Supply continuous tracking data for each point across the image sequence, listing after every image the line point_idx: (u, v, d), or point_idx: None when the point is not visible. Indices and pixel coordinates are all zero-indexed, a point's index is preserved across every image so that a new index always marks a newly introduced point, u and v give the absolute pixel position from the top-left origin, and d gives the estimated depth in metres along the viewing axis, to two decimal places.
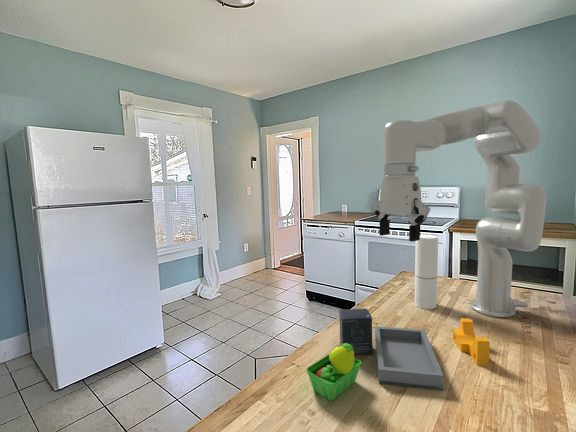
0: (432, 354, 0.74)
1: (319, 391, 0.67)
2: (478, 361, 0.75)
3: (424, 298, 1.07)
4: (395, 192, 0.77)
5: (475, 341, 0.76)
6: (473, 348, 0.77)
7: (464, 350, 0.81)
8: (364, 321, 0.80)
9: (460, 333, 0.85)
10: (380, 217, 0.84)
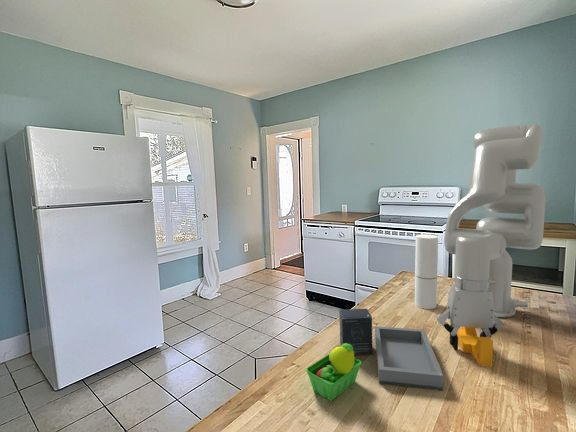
0: (432, 354, 0.74)
1: (319, 391, 0.67)
2: (481, 361, 0.75)
3: (424, 298, 1.07)
4: (478, 306, 0.77)
5: (478, 341, 0.76)
6: (476, 348, 0.77)
7: (467, 350, 0.81)
8: (364, 321, 0.80)
9: (462, 333, 0.85)
10: (455, 332, 0.80)
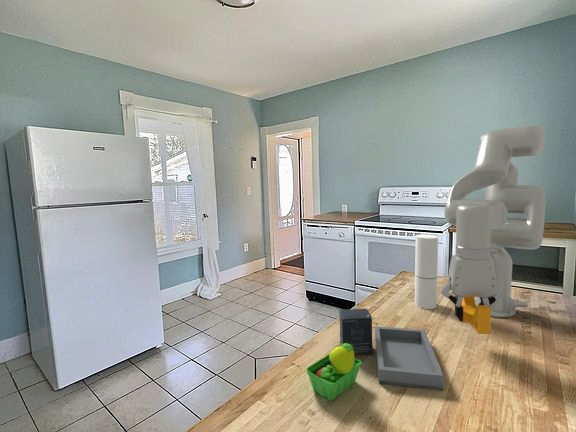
0: (432, 354, 0.74)
1: (319, 391, 0.67)
2: (479, 329, 0.75)
3: (424, 298, 1.07)
4: (479, 275, 0.76)
5: (476, 309, 0.76)
6: (474, 317, 0.77)
7: (465, 320, 0.81)
8: (364, 321, 0.80)
9: None
10: (460, 303, 0.80)
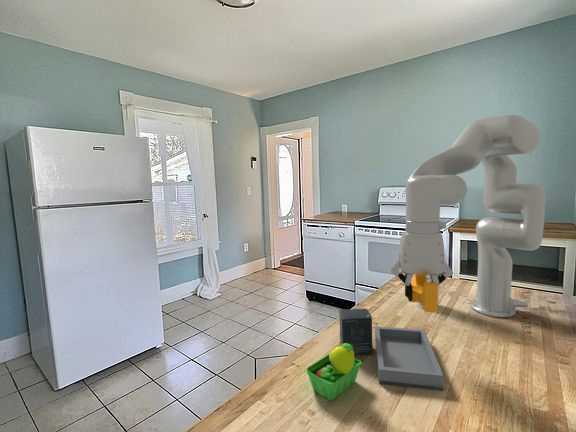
0: (432, 354, 0.74)
1: (319, 391, 0.67)
2: (426, 307, 0.71)
3: None
4: (428, 251, 0.73)
5: (424, 286, 0.72)
6: (422, 295, 0.73)
7: (415, 300, 0.77)
8: (364, 321, 0.80)
9: (413, 283, 0.80)
10: (409, 282, 0.76)
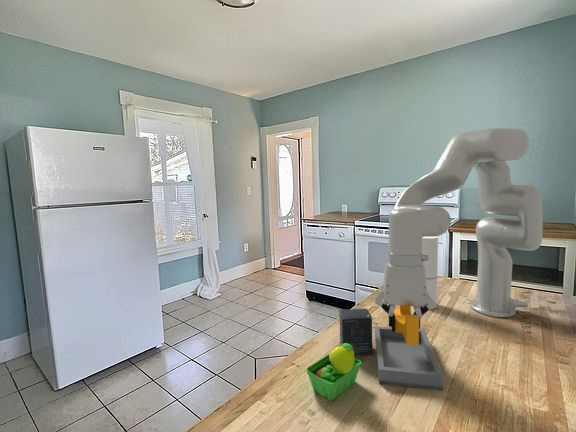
0: (432, 354, 0.74)
1: (319, 391, 0.67)
2: (408, 340, 0.71)
3: None
4: (410, 283, 0.73)
5: (406, 319, 0.72)
6: (405, 327, 0.73)
7: (398, 330, 0.77)
8: (364, 321, 0.80)
9: (397, 312, 0.81)
10: (392, 312, 0.76)
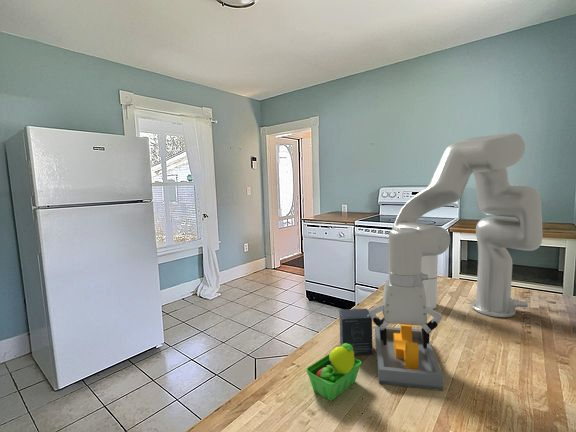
0: (432, 354, 0.74)
1: (319, 391, 0.67)
2: (407, 367, 0.72)
3: None
4: (410, 302, 0.74)
5: (405, 346, 0.73)
6: (405, 354, 0.74)
7: (399, 355, 0.78)
8: (364, 321, 0.80)
9: (398, 337, 0.82)
10: (383, 326, 0.77)
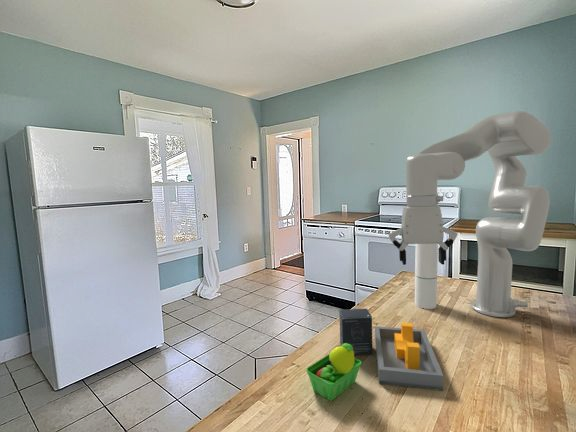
0: (432, 354, 0.74)
1: (319, 391, 0.67)
2: (408, 367, 0.72)
3: (424, 298, 1.07)
4: (427, 222, 0.80)
5: (406, 347, 0.73)
6: (406, 354, 0.74)
7: (400, 356, 0.78)
8: (364, 321, 0.80)
9: (399, 337, 0.82)
10: (403, 247, 0.84)
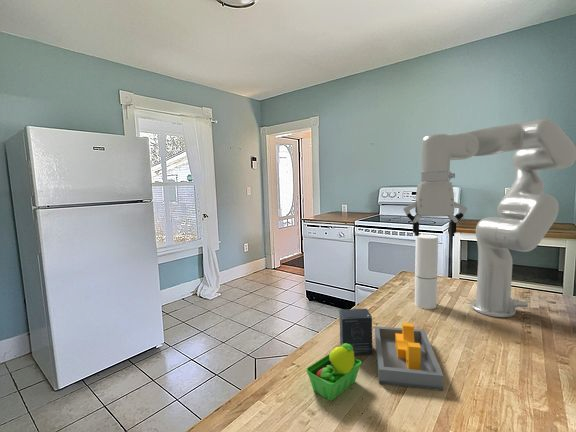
0: (432, 354, 0.74)
1: (319, 391, 0.67)
2: (409, 368, 0.72)
3: (424, 298, 1.07)
4: (440, 196, 0.88)
5: (407, 347, 0.73)
6: (407, 354, 0.74)
7: (401, 356, 0.78)
8: (364, 321, 0.80)
9: (400, 337, 0.82)
10: (416, 219, 0.92)
